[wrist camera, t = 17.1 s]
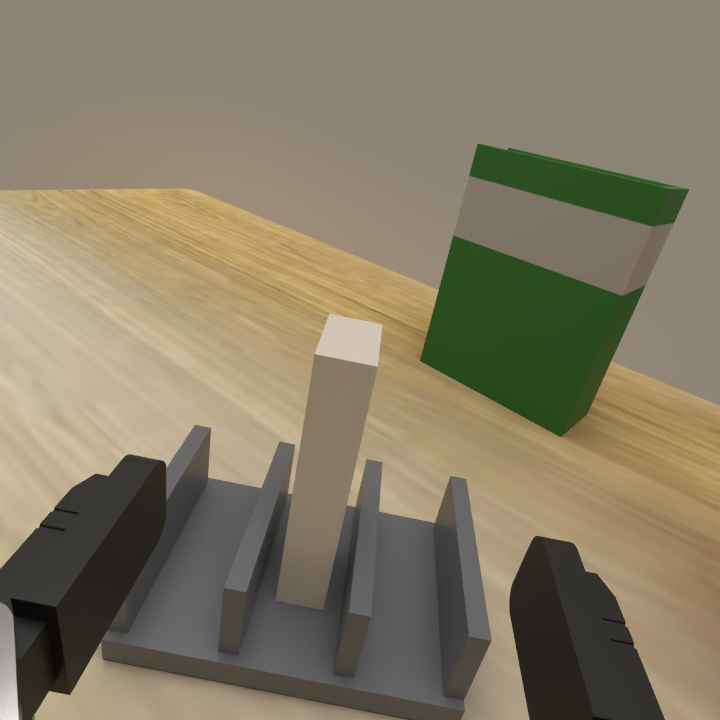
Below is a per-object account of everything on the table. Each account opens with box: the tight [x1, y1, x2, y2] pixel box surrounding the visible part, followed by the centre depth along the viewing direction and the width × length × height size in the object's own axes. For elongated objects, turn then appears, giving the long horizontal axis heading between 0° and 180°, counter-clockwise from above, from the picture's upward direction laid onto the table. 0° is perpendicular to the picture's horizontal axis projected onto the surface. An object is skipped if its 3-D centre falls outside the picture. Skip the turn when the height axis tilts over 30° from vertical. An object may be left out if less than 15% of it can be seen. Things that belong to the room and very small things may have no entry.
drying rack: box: [102, 425, 491, 720], centre depth 29 cm, size 12×17×6 cm
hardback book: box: [420, 144, 689, 437], centre depth 53 cm, size 18×7×24 cm, turn 48°
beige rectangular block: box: [276, 314, 382, 610], centre depth 26 cm, size 4×3×15 cm, turn 175°
